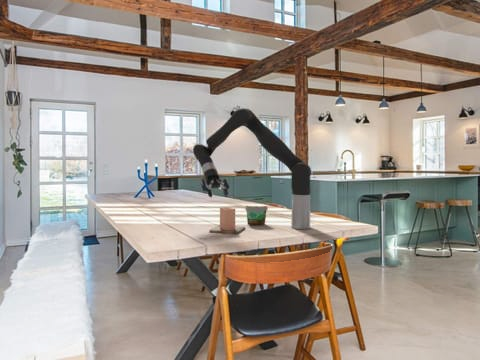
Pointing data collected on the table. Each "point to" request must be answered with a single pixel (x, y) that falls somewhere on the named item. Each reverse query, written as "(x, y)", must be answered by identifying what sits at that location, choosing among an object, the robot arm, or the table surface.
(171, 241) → the table surface
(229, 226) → the salmon pink block
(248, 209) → the food container
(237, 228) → the peg base
